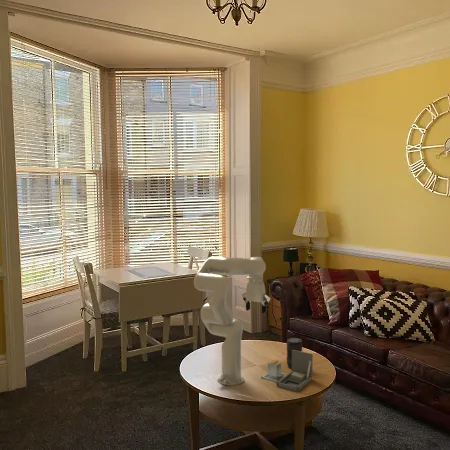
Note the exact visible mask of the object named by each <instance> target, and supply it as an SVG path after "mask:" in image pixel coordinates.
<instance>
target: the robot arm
mask: <svg viewBox="0 0 450 450" xmlns="http://www.w3.org/2000/svg"><path fill="white" fill-rule="evenodd" d="M266 268H267V266H266V262H265V261H264V259H263V257H261V256H250V257H249V258H243V257H229V256H228V257H226V256H210V257H208V258H206V260H205V261H204V262H203V263H202V265H201V266H200V268H199V269H198V271H197V272H196V274H195V276H194V279H193V287H194V288H195V289H196V290H197V291H200V292H207V293H213V296H211V298H210V299H209V301H208V302H207V303H204V305H202V307H201V309H200V318H201V321H202V323H203V324H204V326H205V328H206V329H207V331H208V332H209V333H210V334H211V335H214V336H218V337H223V338H225V340H224V341H223V343H222V344H221V375H220V376H219V377H218V379H217V381H216V382H217V383H218V384H221V385H224V386H229V387H230V386H231V387H234V386H238V385H242V384H243V383H244V382H245V377H244V376H243V375H242V336H243V331H244V325H243V322H242V321H241V320H240V319H237V318H235V317H234V312H233V310H232V308H231V307H230V305H229V303H228V301H227V299H228V293H229V287H230V281H229V278H228V277H226V276H247V275H248V276H247V277H246V278H247V279H246V280H248V281H247V283H246V289H245V292H244V293H242V294H241V297H242V299H243V301H244V303H245V310H246V311H249V310H251V302H255V303H261V305H262V306H261V313H262V314H265V313H266V312H267V305H268V304H269V303H270V300H272V298H271V297H270V296H269V295H267V294H266V286H265V283H264V273H266V272H265V271H266V270H267V269H266Z"/></svg>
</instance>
